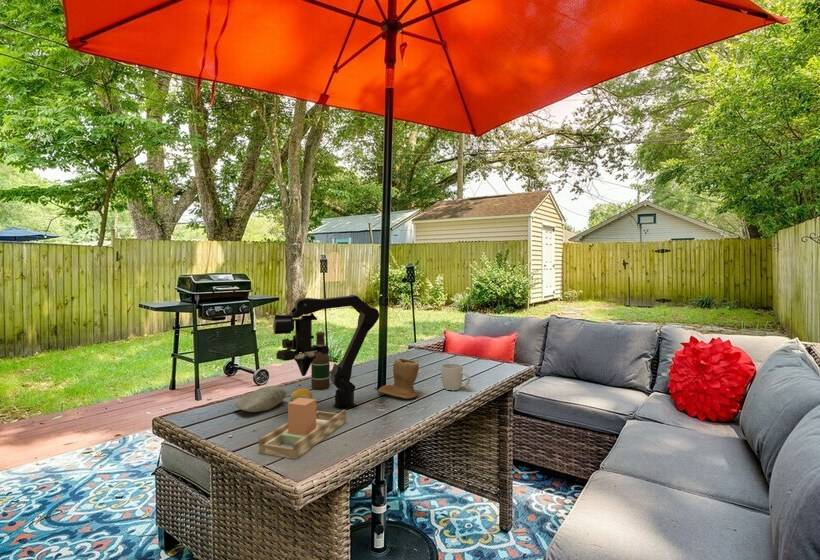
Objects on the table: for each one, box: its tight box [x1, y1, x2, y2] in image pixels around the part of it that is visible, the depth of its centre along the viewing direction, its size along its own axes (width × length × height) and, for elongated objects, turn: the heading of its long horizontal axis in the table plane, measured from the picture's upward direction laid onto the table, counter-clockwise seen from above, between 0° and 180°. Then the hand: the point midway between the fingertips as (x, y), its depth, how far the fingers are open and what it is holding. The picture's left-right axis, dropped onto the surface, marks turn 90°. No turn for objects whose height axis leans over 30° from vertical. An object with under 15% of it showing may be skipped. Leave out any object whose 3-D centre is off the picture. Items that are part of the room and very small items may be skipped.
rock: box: [233, 385, 287, 413], centre depth 161 cm, size 8×11×20 cm
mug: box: [440, 363, 471, 392], centre depth 185 cm, size 13×9×10 cm
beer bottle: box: [310, 331, 331, 391], centre depth 188 cm, size 8×8×24 cm
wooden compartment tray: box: [258, 406, 347, 460], centre depth 135 cm, size 30×12×4 cm, turn 162°
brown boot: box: [378, 357, 420, 399], centre depth 177 cm, size 15×12×15 cm
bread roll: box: [290, 388, 313, 401], centre depth 173 cm, size 8×9×4 cm
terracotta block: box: [287, 398, 317, 435], centre depth 133 cm, size 6×6×9 cm
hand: (303, 375), depth 157 cm, fingers closed
